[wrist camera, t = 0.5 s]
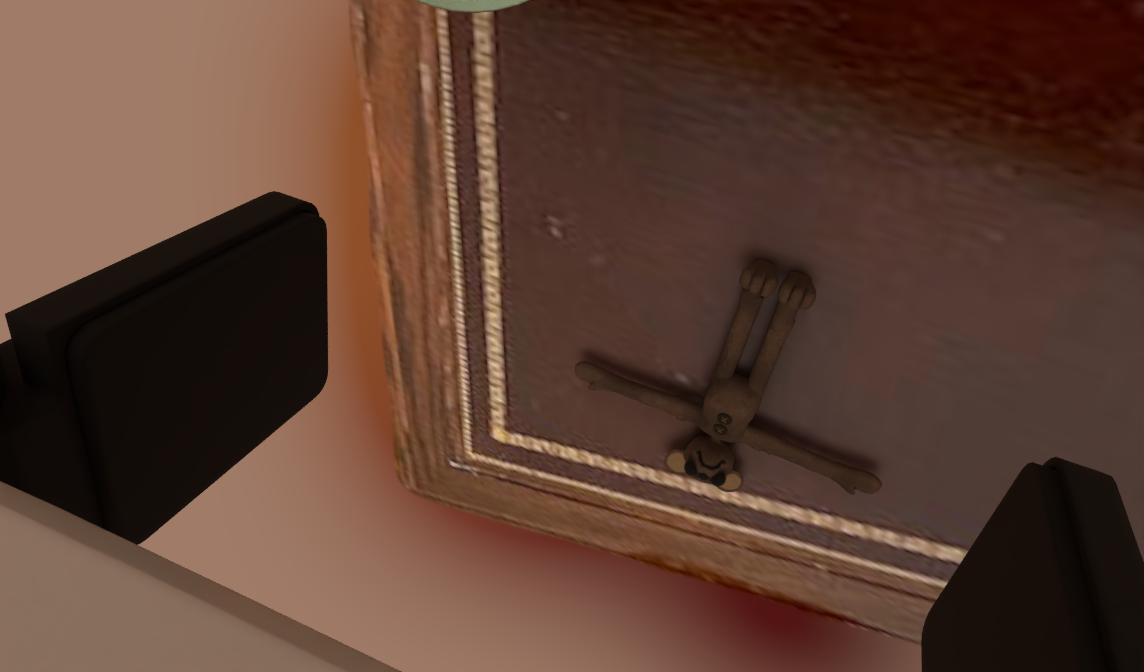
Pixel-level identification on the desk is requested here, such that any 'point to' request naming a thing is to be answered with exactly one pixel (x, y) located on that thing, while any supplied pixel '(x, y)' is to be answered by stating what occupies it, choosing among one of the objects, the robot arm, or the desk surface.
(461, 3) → the lid
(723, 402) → the brown thin branching figure
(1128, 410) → the desk surface
